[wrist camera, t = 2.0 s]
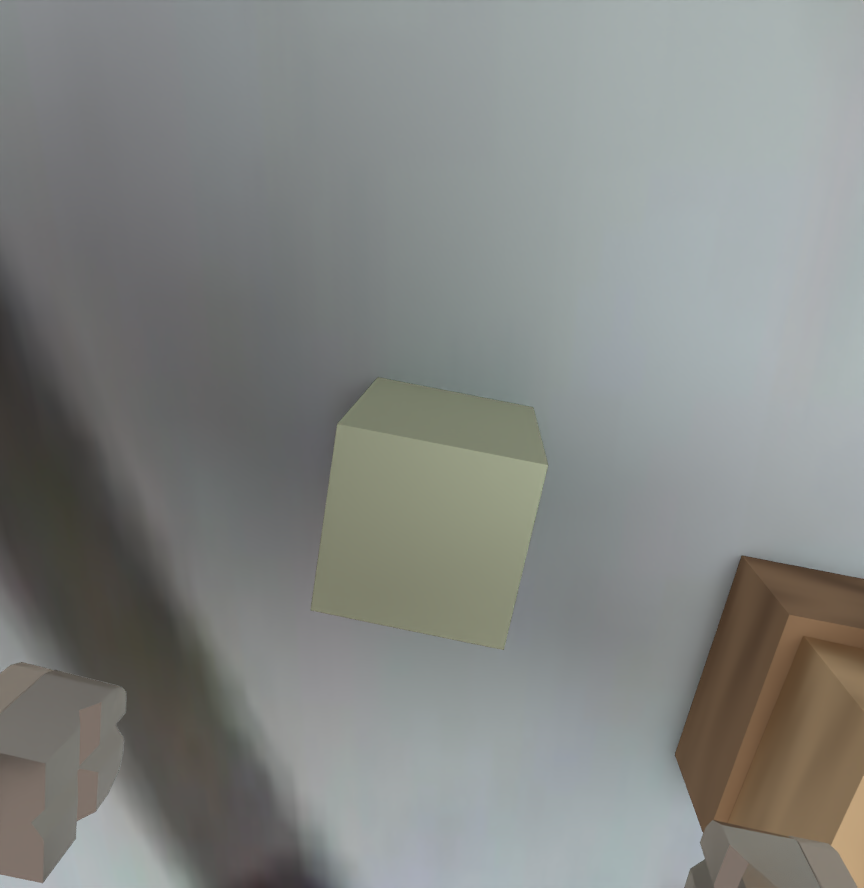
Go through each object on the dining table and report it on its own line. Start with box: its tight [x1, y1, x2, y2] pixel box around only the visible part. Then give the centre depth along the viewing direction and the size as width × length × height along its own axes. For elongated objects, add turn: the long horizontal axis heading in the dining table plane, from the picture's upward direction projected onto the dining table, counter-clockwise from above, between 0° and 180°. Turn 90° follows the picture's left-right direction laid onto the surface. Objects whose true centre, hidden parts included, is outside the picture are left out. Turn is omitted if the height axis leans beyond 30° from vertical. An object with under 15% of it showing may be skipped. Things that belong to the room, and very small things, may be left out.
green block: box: [311, 377, 548, 650], centre depth 20 cm, size 5×5×6 cm
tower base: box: [675, 556, 864, 833], centre depth 22 cm, size 8×8×4 cm
